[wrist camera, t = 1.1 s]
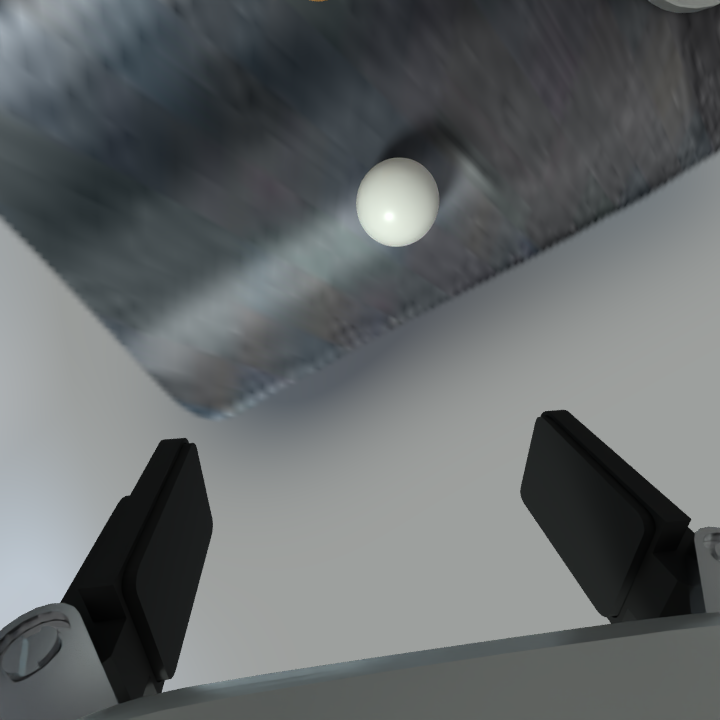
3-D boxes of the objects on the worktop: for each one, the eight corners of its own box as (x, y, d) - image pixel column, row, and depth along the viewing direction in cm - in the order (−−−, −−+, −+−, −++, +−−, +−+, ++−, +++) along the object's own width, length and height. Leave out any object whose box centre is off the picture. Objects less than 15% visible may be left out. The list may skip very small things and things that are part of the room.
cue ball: (413, 147, 27) (438, 139, 22) (434, 224, 29) (460, 233, 24) (340, 177, 27) (348, 176, 22) (367, 251, 30) (379, 265, 25)
